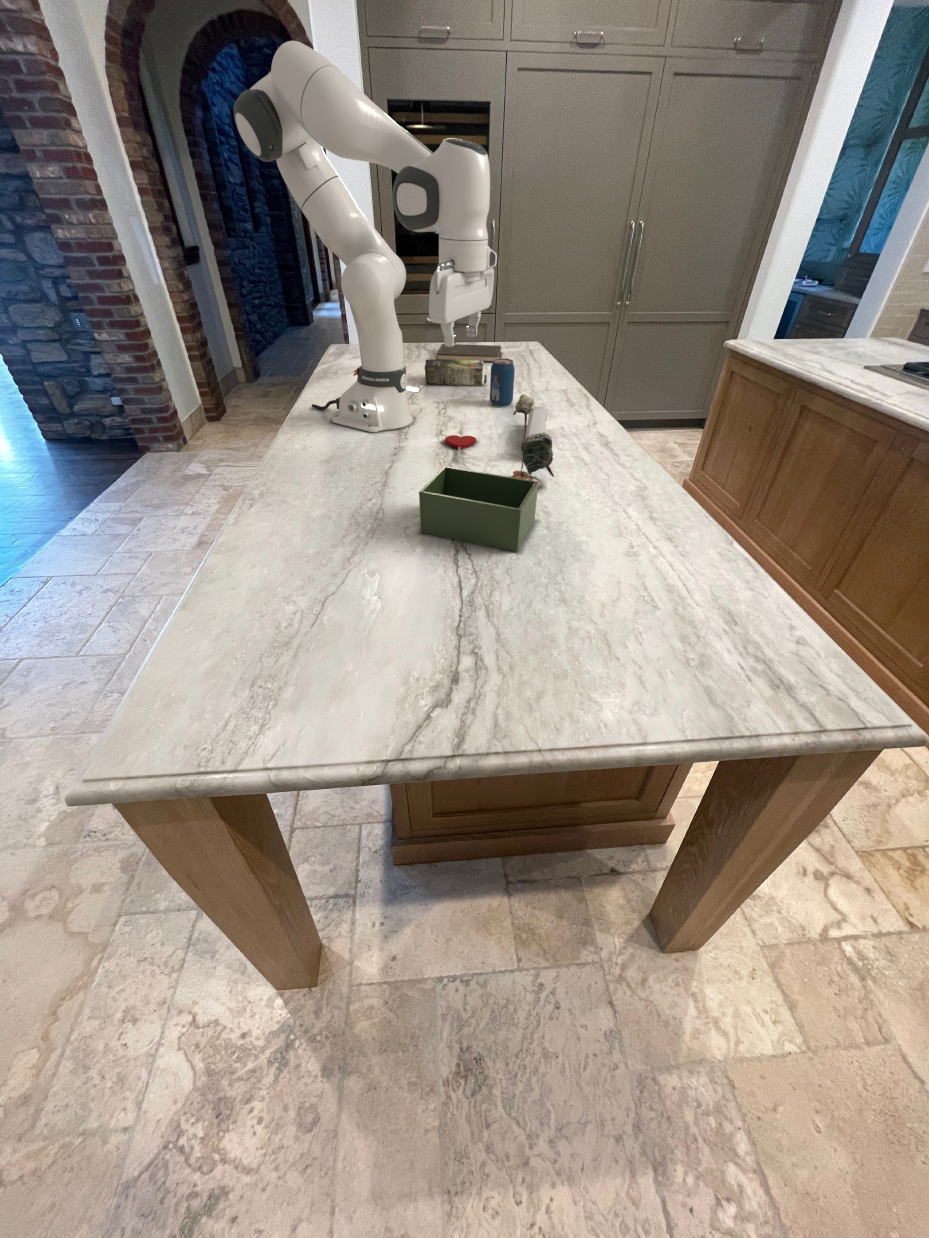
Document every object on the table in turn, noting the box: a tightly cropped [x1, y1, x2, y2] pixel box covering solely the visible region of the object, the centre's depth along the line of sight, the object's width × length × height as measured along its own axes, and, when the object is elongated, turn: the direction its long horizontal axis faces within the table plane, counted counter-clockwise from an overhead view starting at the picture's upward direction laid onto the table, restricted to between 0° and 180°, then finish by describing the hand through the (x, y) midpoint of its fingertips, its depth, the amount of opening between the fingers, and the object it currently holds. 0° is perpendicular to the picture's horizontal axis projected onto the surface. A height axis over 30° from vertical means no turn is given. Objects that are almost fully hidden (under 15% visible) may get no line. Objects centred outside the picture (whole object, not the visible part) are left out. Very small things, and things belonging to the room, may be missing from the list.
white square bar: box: [526, 405, 549, 438], centre depth 136 cm, size 5×5×25 cm
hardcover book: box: [436, 343, 502, 363], centre depth 203 cm, size 16×23×2 cm
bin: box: [418, 465, 539, 553], centre depth 102 cm, size 19×12×8 cm, turn 70°
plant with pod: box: [508, 394, 555, 489], centre depth 112 cm, size 8×11×20 cm
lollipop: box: [444, 434, 477, 462], centre depth 133 cm, size 8×1×15 cm
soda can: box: [489, 357, 516, 408], centre depth 157 cm, size 7×7×12 cm
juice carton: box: [424, 358, 488, 387], centre depth 176 cm, size 20×10×6 cm, turn 91°
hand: (461, 341), depth 107 cm, fingers open, 8 cm apart
